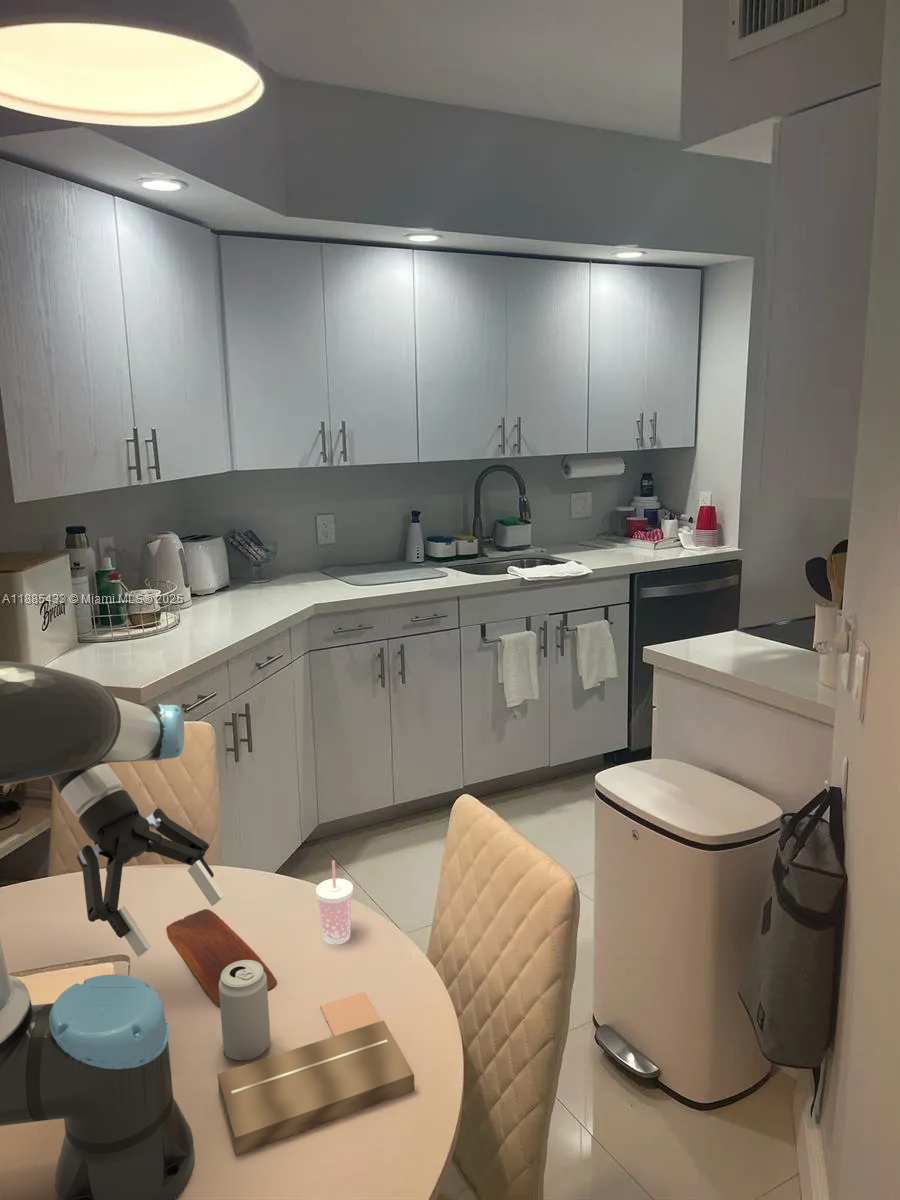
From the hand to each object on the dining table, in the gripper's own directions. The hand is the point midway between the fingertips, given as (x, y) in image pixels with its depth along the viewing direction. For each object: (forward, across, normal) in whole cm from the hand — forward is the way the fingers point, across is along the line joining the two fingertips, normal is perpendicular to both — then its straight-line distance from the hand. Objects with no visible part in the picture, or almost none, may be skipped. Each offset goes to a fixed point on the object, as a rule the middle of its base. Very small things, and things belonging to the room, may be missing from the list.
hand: (183, 925), depth 122 cm
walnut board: (+28, +1, +6) cm, 29 cm away
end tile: (+25, -12, +3) cm, 28 cm away
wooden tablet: (+6, -13, -17) cm, 23 cm away
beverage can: (+19, 0, -4) cm, 19 cm away
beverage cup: (+16, -26, -7) cm, 31 cm away
